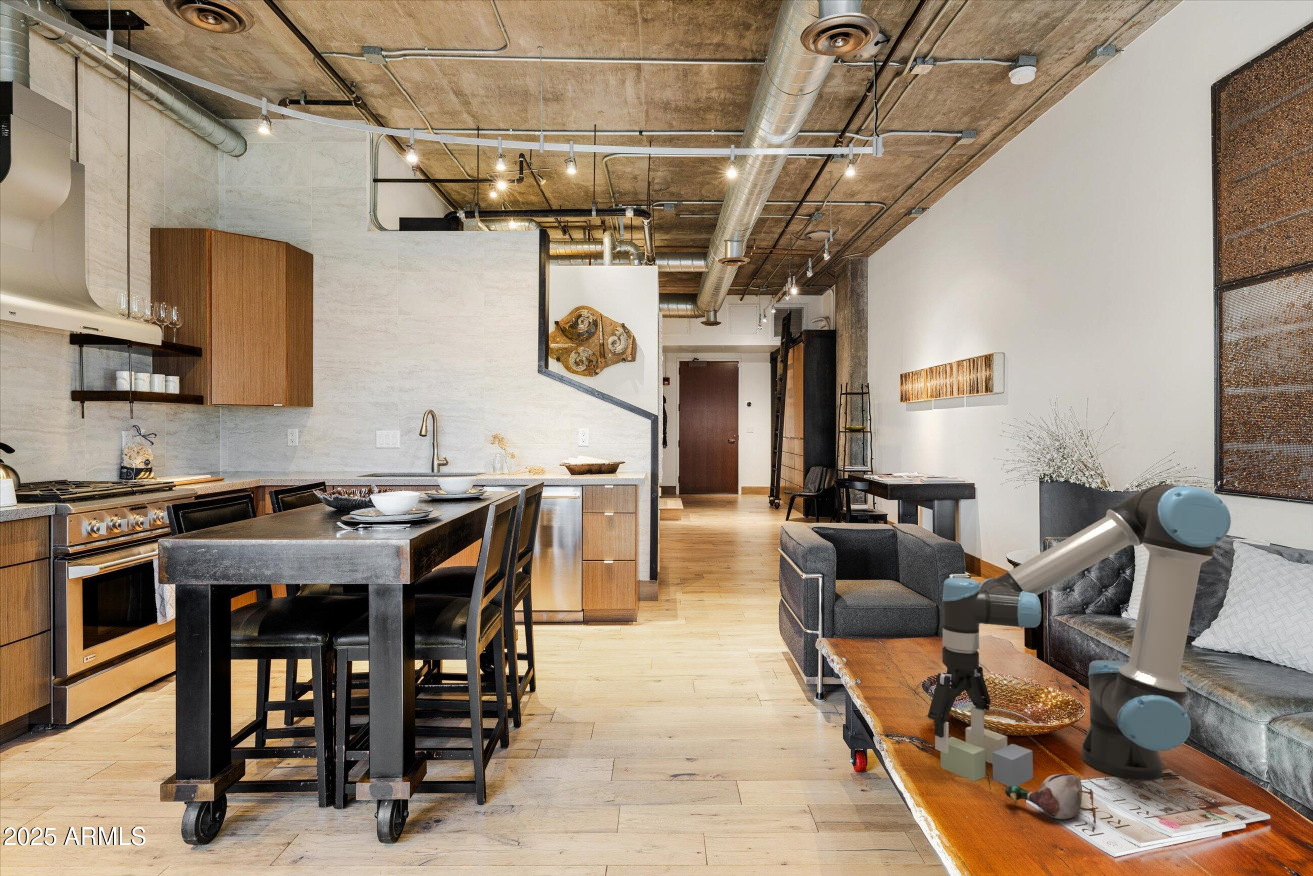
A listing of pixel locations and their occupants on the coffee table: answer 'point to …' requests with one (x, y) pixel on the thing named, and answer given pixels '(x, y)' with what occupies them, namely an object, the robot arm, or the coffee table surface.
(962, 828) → the coffee table surface
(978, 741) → the cream block
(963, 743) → the sage block
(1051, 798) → the decorative duck model
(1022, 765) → the slate block
